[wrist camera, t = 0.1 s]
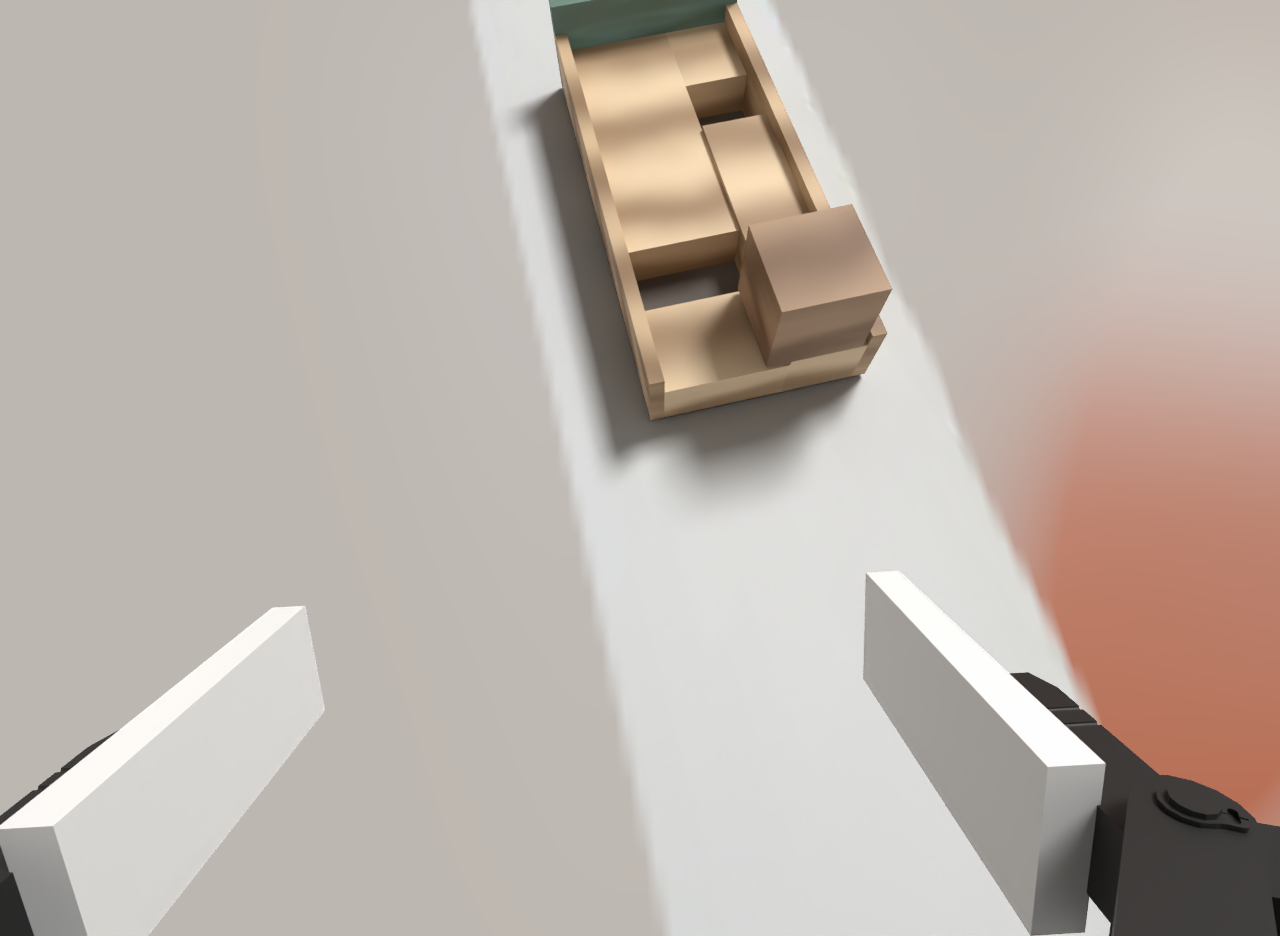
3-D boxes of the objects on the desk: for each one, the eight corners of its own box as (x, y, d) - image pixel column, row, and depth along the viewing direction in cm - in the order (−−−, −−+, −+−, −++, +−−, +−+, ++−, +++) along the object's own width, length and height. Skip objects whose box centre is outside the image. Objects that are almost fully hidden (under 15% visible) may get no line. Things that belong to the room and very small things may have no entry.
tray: (864, 373, 35) (899, 312, 30) (650, 420, 34) (648, 365, 29) (727, 53, 45) (736, -34, 40) (561, 83, 44) (548, 0, 39)
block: (862, 346, 32) (892, 288, 28) (766, 367, 32) (781, 312, 27) (828, 269, 34) (852, 204, 30) (737, 288, 33) (748, 225, 29)
